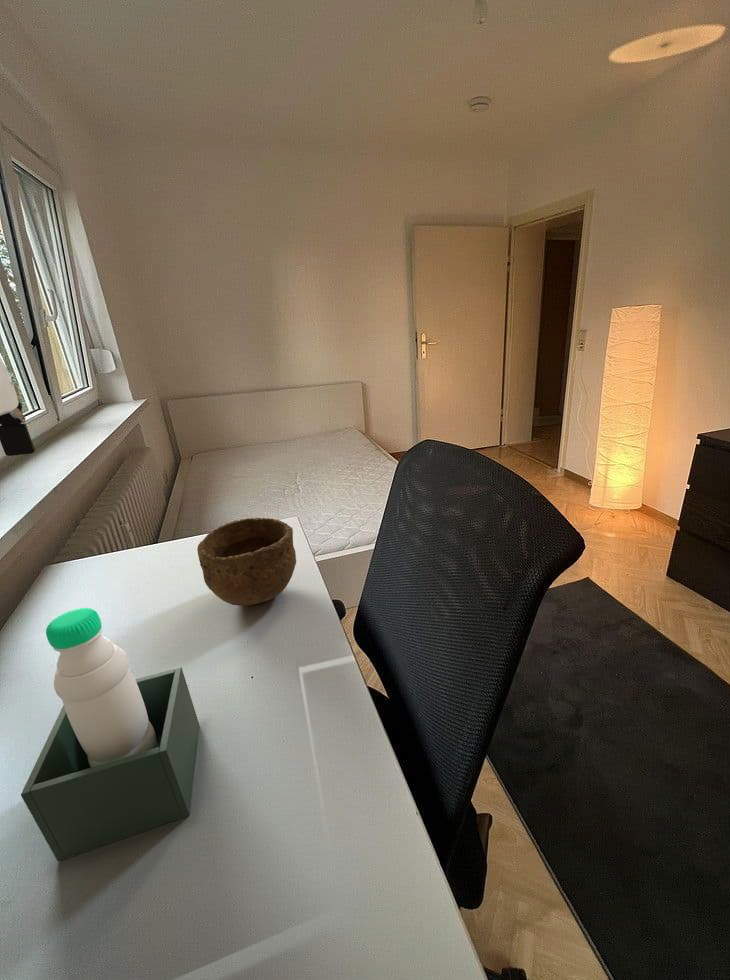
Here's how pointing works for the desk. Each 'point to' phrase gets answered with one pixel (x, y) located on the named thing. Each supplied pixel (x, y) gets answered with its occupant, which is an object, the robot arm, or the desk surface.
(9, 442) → the robot arm
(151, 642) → the desk surface
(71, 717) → the water bottle
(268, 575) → the bowl
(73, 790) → the green storage bin
